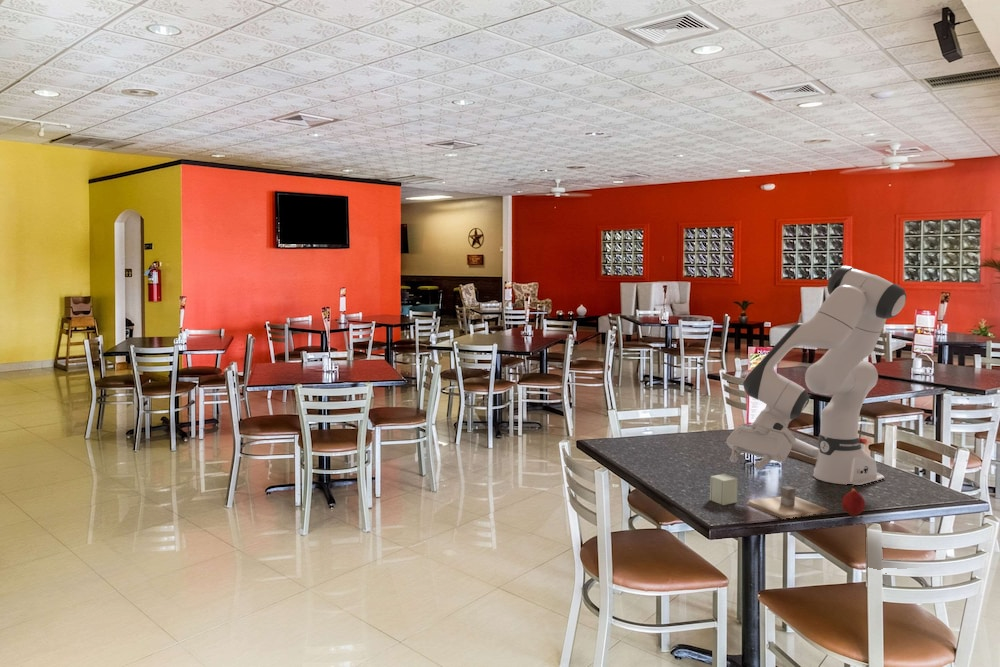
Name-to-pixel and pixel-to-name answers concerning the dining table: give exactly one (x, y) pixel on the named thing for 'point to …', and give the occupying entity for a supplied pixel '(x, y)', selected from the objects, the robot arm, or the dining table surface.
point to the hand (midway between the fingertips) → (744, 464)
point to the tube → (804, 448)
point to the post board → (785, 510)
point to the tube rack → (802, 457)
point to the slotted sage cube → (723, 489)
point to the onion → (853, 503)
